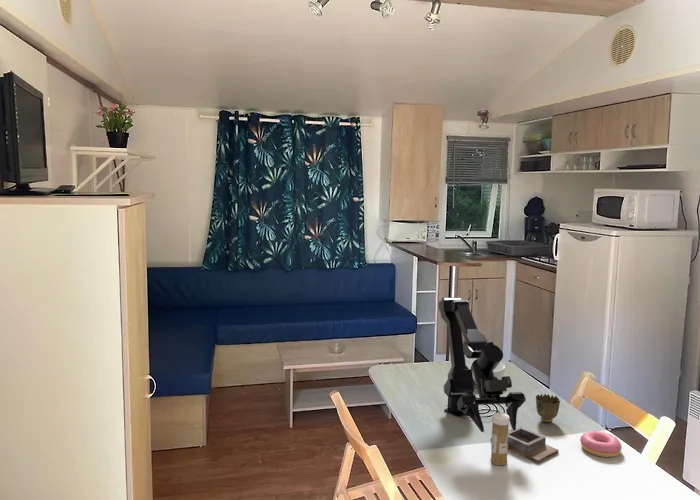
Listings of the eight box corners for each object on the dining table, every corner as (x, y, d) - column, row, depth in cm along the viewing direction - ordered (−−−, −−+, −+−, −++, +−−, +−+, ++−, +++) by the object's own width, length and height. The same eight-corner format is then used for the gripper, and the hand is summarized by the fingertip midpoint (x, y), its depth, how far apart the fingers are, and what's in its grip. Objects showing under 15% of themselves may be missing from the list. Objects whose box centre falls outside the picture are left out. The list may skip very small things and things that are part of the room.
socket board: (490, 441, 160) (491, 430, 160) (511, 432, 166) (511, 421, 166) (537, 463, 148) (538, 451, 147) (558, 453, 154) (559, 441, 153)
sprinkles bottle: (507, 467, 146) (509, 419, 144) (489, 464, 147) (491, 417, 145) (507, 459, 150) (509, 413, 148) (490, 456, 151) (492, 410, 150)
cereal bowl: (452, 382, 208) (453, 365, 207) (469, 370, 222) (470, 354, 221) (495, 392, 198) (496, 374, 198) (510, 379, 212) (511, 362, 211)
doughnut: (629, 458, 152) (630, 444, 151) (594, 461, 150) (595, 446, 150) (605, 440, 162) (606, 427, 162) (572, 442, 161) (573, 429, 160)
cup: (560, 427, 170) (562, 403, 169) (536, 425, 172) (537, 401, 171) (556, 417, 177) (558, 394, 176) (533, 415, 179) (534, 392, 178)
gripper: (461, 366, 150) (475, 421, 141) (524, 364, 153) (541, 418, 143) (451, 384, 159) (463, 436, 149) (511, 381, 162) (526, 433, 152)
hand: (498, 430), depth 148 cm, fingers open, 9 cm apart
